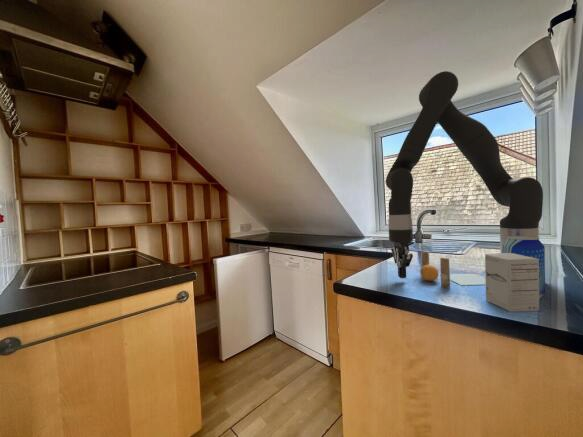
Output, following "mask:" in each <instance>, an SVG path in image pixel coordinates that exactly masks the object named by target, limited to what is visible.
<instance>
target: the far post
mask: <svg viewBox="0 0 583 437" xmlns="http://www.w3.org/2000/svg"><path fill="white" fill-rule="evenodd" d="M420 252H421V268H422V267H423V266H425V265H430V251H429V250H422V251H420Z"/></svg>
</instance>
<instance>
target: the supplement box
mask: <svg viewBox="0 0 583 437" xmlns="http://www.w3.org/2000/svg"><path fill="white" fill-rule="evenodd" d="M484 268H485V270H484V272H485V273H484V274H485V278H486V285H485V301H487V302H489V303H492V304H494V305H496V306H498V307H500V308H501V309H504V310H506V311H508V312H510V313H511V312H533V311H534V312H535V311H540V298H539V259H537V258H532V257H528V256H523V255H518V254H514V253H486V254H485V255H484Z"/></svg>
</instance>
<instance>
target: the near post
mask: <svg viewBox="0 0 583 437" xmlns="http://www.w3.org/2000/svg"><path fill="white" fill-rule="evenodd" d="M439 260H440V261H439V262H440V266H439V267H440V275H441V276H440V286H441V287H442V288H447V289H448V288H451V280H450V273H451V272H450V269H451V268H450V258H449V257H440V258H439Z"/></svg>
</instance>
